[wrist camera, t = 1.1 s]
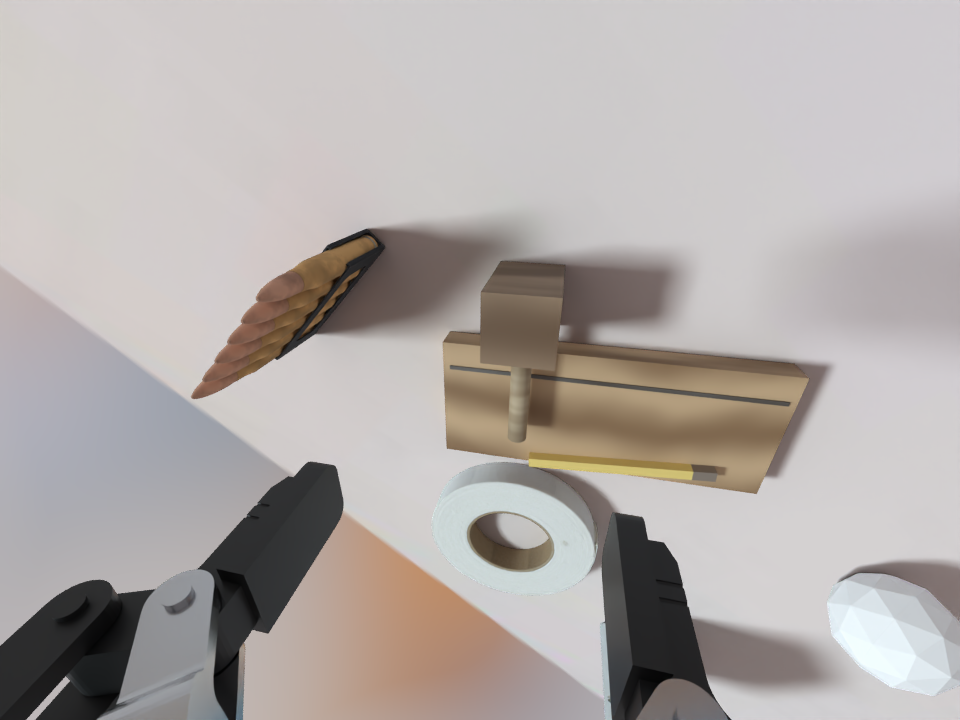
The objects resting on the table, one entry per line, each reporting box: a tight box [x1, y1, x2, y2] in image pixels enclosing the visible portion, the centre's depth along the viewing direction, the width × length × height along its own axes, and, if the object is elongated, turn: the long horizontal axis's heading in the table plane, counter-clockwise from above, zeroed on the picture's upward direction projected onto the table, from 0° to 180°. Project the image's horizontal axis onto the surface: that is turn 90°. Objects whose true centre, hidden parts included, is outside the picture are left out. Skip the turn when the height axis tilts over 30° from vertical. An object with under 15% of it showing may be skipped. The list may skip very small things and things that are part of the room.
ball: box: [827, 573, 960, 696], centre depth 31 cm, size 8×8×8 cm
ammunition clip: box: [191, 229, 385, 399], centre depth 26 cm, size 11×2×12 cm, turn 136°
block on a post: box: [480, 261, 565, 443], centre depth 27 cm, size 12×4×7 cm, turn 179°
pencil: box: [529, 452, 718, 482], centre depth 31 cm, size 1×14×1 cm, turn 94°
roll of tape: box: [432, 462, 598, 595], centre depth 38 cm, size 16×15×3 cm
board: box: [443, 332, 810, 494], centre depth 30 cm, size 10×24×2 cm, turn 89°
